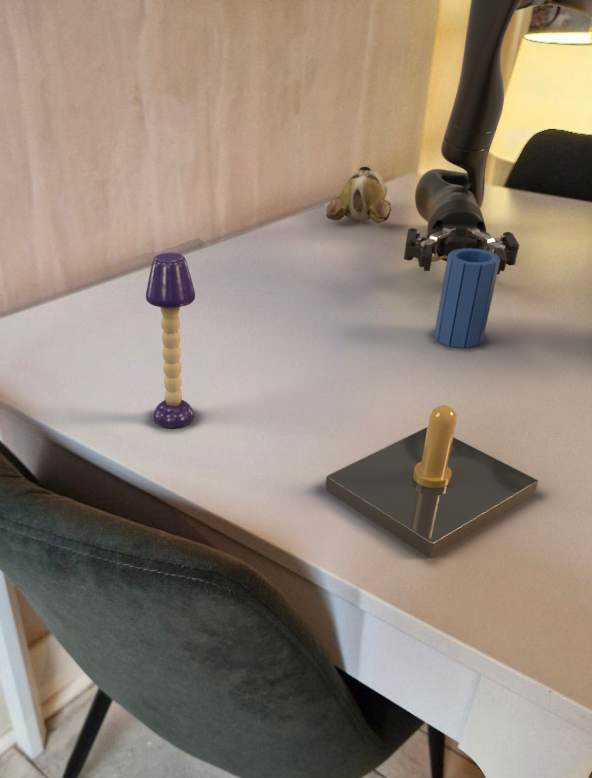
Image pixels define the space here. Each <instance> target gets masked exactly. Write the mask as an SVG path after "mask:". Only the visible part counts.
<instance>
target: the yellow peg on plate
mask: <svg viewBox="0 0 592 778" xmlns="http://www.w3.org/2000/svg"><path fill="white" fill-rule="evenodd" d="M457 421H458V416H457V413H456V411H455V409H454V408H452V407H451V406H449V405H443V404H442V405H438V406H436V407H434V409H432V411H430V414H429V418H428V422H427V426H426V427H424V428H422V429H420V430H418V431H416V432H414V433H412V434H410V435H408V436H406V437H403V438H401V439H399V440H398V441H396V442H394V443H391V444H389V445H387V446H386V447H383V448H381V449H380V450H376V451H375V452H373V453H370V454H369V455H367V456H365V457H363V458H361V459H358V460H357V461H354V462H352V463H350V464H348V465H346V466H344V467H342V468H340V469H338V470H336V471H334V472H332V473H330V474H328V475H326V477H325V486H324V487H325V488H324V490H325V491H326V492H328V493H329V494H331V495H333V496H334V497H336V498H337V499H339V500H340V501H342V502H343V503H345V504H347V505H348V506H350V508H352V509H354V510H355V511H357V512H359V513H361V514H362V515H363V516H365V517H366V518H368V519H370V520H371V521H373V522H374V523H376V524H378V525H379V526H380V527H382V528H384V529H385V530H386V531H388V532H390V533H391V534H393V535H394V536H395V537H397V538H399V539H400V540H402V541H403V542H405V543H406V544H408V545H409V546H411V547H413V548H415V549H416V550H417V551H418V552H420V553H422V554H423V555H425V556H426V557H428V558H432V557H433V556H436V555H437V554H440V552H442V551H444V550H445V549H447V548H449V547H450V546H452V545H454V544H455V543H457V542H458V541H459V540H462V539H463V538H465V537H466V536H468V535H470V534H471V533H473V532H475V531H476V530H478V529H480V528H482V527H484V525H486V524H488V523H490V522H492V521H493V520H494V519H496V518H498V517H499V516H501V515H502V514H504V513H506V512H507V511H509V510H512V509H513V508H514V507H515V506H518V505H519V504H521V503H522V502H524V501H525V500H527V499H529V498H530V497H532V496H534V495H535V494H536V490H537V486H538V483H539V480H538V479H536V478H534V477H532V476H531V475H529V474H527V473H525V472H523V471H520V470H519V469H517V468H515V467H513V466H511V465H509V464H507V463H505V462H503V461H502V460H499V459H497V458H496V457H493V456H492V455H490V454H487V453H485V452H483V451H482V450H480V449H477V448H475V447H474V446H472V445H470V444H468V443H465V442H464V441H462V440H460V439H458V438H456V437H454V435H455V430H456V427H457V426H456V425H457Z"/></svg>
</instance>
